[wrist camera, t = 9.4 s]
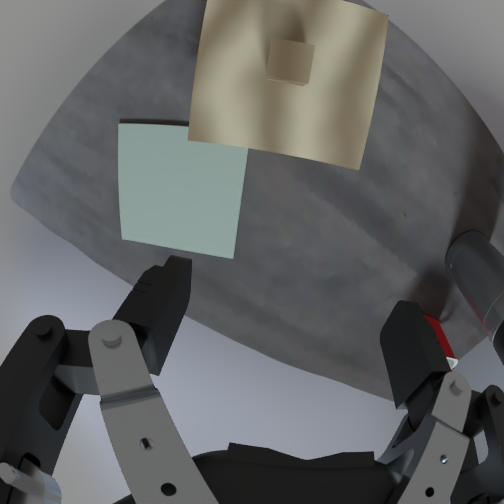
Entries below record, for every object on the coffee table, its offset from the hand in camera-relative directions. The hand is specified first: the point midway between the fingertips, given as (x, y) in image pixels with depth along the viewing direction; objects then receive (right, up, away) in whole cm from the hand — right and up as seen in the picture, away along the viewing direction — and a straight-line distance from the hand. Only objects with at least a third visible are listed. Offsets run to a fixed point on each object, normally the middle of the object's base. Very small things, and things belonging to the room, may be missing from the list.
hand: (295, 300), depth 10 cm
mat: (-12, +10, +28) cm, 32 cm away
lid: (+2, +18, +11) cm, 21 cm away
